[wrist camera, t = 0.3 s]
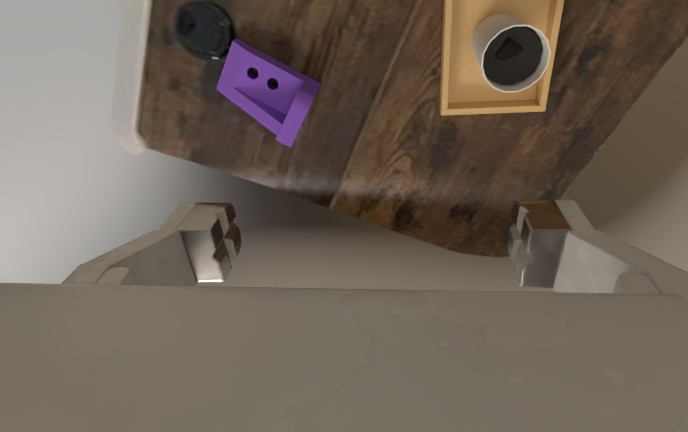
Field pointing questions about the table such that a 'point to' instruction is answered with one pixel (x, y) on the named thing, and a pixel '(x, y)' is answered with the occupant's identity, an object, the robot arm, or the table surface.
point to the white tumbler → (510, 52)
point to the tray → (461, 65)
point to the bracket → (267, 90)
